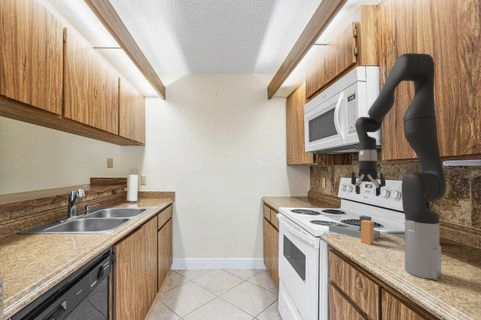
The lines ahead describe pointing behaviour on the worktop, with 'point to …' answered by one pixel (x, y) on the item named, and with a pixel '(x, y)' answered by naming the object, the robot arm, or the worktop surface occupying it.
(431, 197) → the robot arm
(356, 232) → the slate power strip
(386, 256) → the worktop surface
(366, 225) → the orange plug
